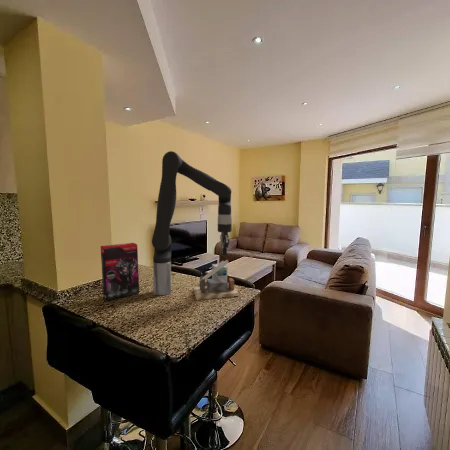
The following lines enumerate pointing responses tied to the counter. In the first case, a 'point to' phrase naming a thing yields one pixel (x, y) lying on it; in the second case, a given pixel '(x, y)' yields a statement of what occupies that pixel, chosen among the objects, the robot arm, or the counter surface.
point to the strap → (215, 269)
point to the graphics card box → (119, 270)
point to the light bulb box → (219, 272)
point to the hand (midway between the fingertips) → (224, 254)
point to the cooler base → (213, 295)
